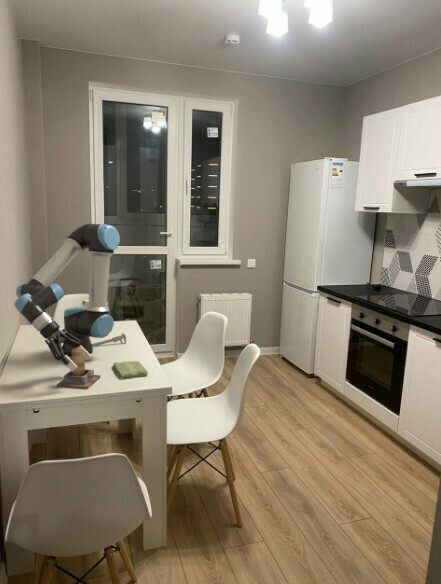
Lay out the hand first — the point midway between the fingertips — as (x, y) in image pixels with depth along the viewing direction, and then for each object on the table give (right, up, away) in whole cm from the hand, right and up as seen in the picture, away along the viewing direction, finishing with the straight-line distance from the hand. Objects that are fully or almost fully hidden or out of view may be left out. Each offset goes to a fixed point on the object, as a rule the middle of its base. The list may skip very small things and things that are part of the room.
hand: (82, 363), depth 178 cm
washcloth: (+16, -7, +16) cm, 24 cm away
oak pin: (-2, -7, +1) cm, 7 cm away
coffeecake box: (-16, +5, +75) cm, 77 cm away
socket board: (-2, -8, +2) cm, 8 cm away
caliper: (-4, +1, +53) cm, 53 cm away
